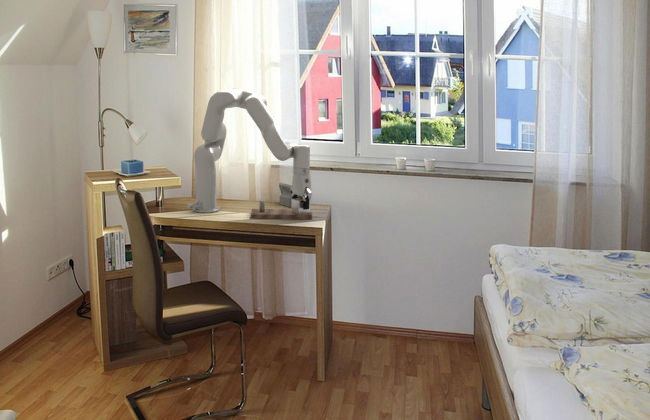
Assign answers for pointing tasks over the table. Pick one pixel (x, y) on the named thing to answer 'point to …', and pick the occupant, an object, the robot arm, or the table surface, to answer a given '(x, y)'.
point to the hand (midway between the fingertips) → (300, 207)
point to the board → (278, 213)
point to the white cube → (299, 206)
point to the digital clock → (285, 194)
